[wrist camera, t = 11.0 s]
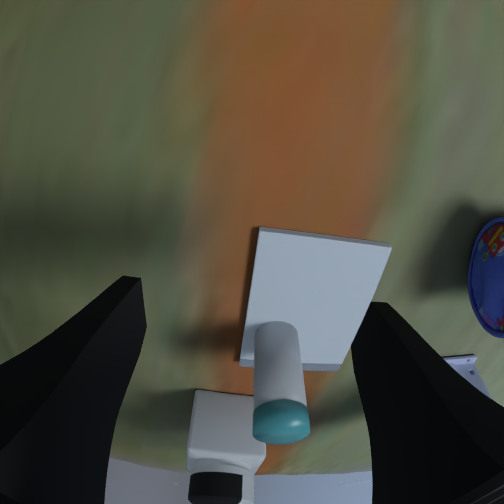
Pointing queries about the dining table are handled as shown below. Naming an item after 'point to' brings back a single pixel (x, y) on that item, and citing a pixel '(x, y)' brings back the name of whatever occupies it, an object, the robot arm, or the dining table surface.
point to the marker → (279, 386)
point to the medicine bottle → (222, 449)
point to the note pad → (312, 291)
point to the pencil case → (488, 277)
